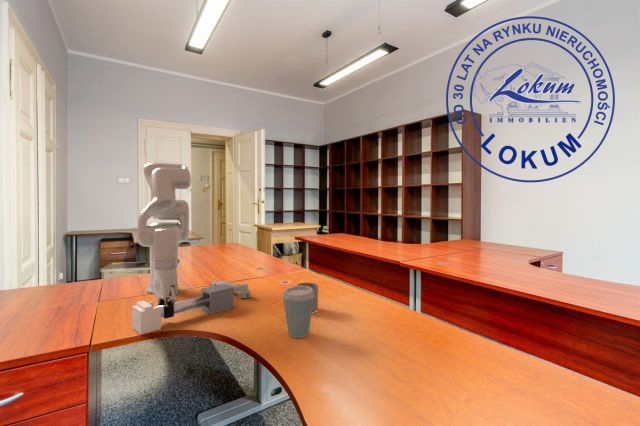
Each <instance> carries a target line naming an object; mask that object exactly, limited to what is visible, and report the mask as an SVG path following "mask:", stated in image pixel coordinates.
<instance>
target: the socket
mask: <svg viewBox="0 0 640 426" xmlns="http://www.w3.org/2000/svg"><path fill="white" fill-rule="evenodd" d="M153 307H155V308H153ZM161 329H162V318H161V307H160V306H159V307H157V306H154V301H149V302H147V301H145V300H141V301H136V304H135V305H132V330H135V331H136V332H137V333H139V335H145V334H148V333H151V332H155V331H159V330H161Z"/></svg>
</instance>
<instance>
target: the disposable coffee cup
mask: <svg viewBox="0 0 640 426" xmlns="http://www.w3.org/2000/svg"><path fill="white" fill-rule="evenodd" d="M314 296H315V295H314V292H313V289H312V288H311V287H308V286H302V285H299V286H297V285H293V286H289V287H287V288H286V289H284V291H283V292H282V293H281V297H282V299H283V300H282V301H283V307H284V312H285V320H286V326H287V333H288V335H289V337H291V338H294V339H302V338H306V337H307V336H308V335H309V332H310V327H311V320H312V307H313V300H314Z"/></svg>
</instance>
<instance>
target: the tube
mask: <svg viewBox="0 0 640 426" xmlns="http://www.w3.org/2000/svg"><path fill="white" fill-rule="evenodd" d="M208 305H209V296H208V295H204V296H201V295H200V296H196V297H192V298H188V299H184V300H178V301H175V305H174V315H177V314H181V313H184V312H188V311H192V310H196V309H201V307H204V306H208ZM155 307H159V306H158V305H157V306H153V308H155ZM160 307H161V319H162V318H164V307H165V305H161V306H160Z"/></svg>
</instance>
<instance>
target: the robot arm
mask: <svg viewBox="0 0 640 426" xmlns="http://www.w3.org/2000/svg"><path fill="white" fill-rule="evenodd" d="M143 174H144V178H145V180H146V182H147V183H148V186H149V188H150V202H149V203H148V204H147V205H146V206H145V207H144V208H143V209H142V211H140V213H139V216H138V220H137V242H138V244H139V245H140V246H142V247H145V248H146V247H147V248H149V286H147V287H146V288H145V291H146V292H147V293H151V294H153V295H154V296H156V297H157V306H161V305H165V307H164V317H163V318H164V319H165V320H166V319H167V320H168V319H169V318H174V316H175V314H174V305H175V302H177V296H178V293H179V292H178V291H179V287H178V286H179V283H178V271H177V269H178V267H179V258H178V257H179V252H178V250H179V243H183V242H186V241H187V240H188V239H189V236H190V206H189V204H188V201H186V200H184V199H177V198H176V190H188V189H189V188H190V186H191V183H192V176H191V173H190V170H189V168H188V166H187V165H186V164H179V163H164V162H148V163H146V164H144V166H143ZM151 217H152V218H153V219H154V220H158V221H160V222H153V223H150V224H149V225H147V222H148V220H149V219H150V218H151ZM161 221H162V222H161ZM170 221H171V222H170Z"/></svg>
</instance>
